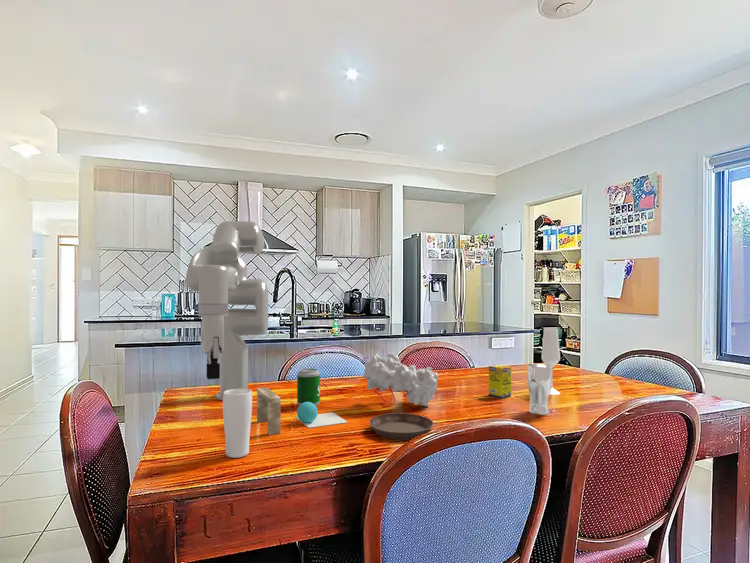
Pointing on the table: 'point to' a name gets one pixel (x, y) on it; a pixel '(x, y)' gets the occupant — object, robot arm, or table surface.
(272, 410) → the bridge
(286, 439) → the table surface
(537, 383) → the white vase
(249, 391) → the drinking glass
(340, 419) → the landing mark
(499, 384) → the supplement box
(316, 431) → the table surface
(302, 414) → the ball
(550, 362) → the champagne flute
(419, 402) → the molecular structure model
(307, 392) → the soda can
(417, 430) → the plant saucer
